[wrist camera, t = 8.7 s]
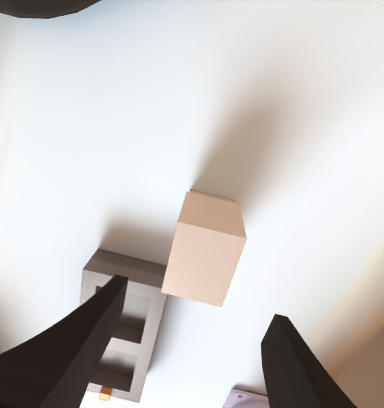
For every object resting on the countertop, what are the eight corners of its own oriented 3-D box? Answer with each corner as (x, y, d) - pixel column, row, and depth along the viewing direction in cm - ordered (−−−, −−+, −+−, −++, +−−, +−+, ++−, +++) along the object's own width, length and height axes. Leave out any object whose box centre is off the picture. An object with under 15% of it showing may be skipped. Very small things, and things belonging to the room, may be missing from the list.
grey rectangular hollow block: (173, 267, 24) (166, 295, 21) (146, 374, 30) (137, 409, 27) (97, 248, 24) (79, 273, 21) (85, 359, 30) (69, 392, 27)
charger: (237, 196, 21) (246, 238, 15) (220, 250, 23) (221, 307, 17) (188, 184, 21) (177, 221, 15) (175, 239, 23) (160, 292, 17)
